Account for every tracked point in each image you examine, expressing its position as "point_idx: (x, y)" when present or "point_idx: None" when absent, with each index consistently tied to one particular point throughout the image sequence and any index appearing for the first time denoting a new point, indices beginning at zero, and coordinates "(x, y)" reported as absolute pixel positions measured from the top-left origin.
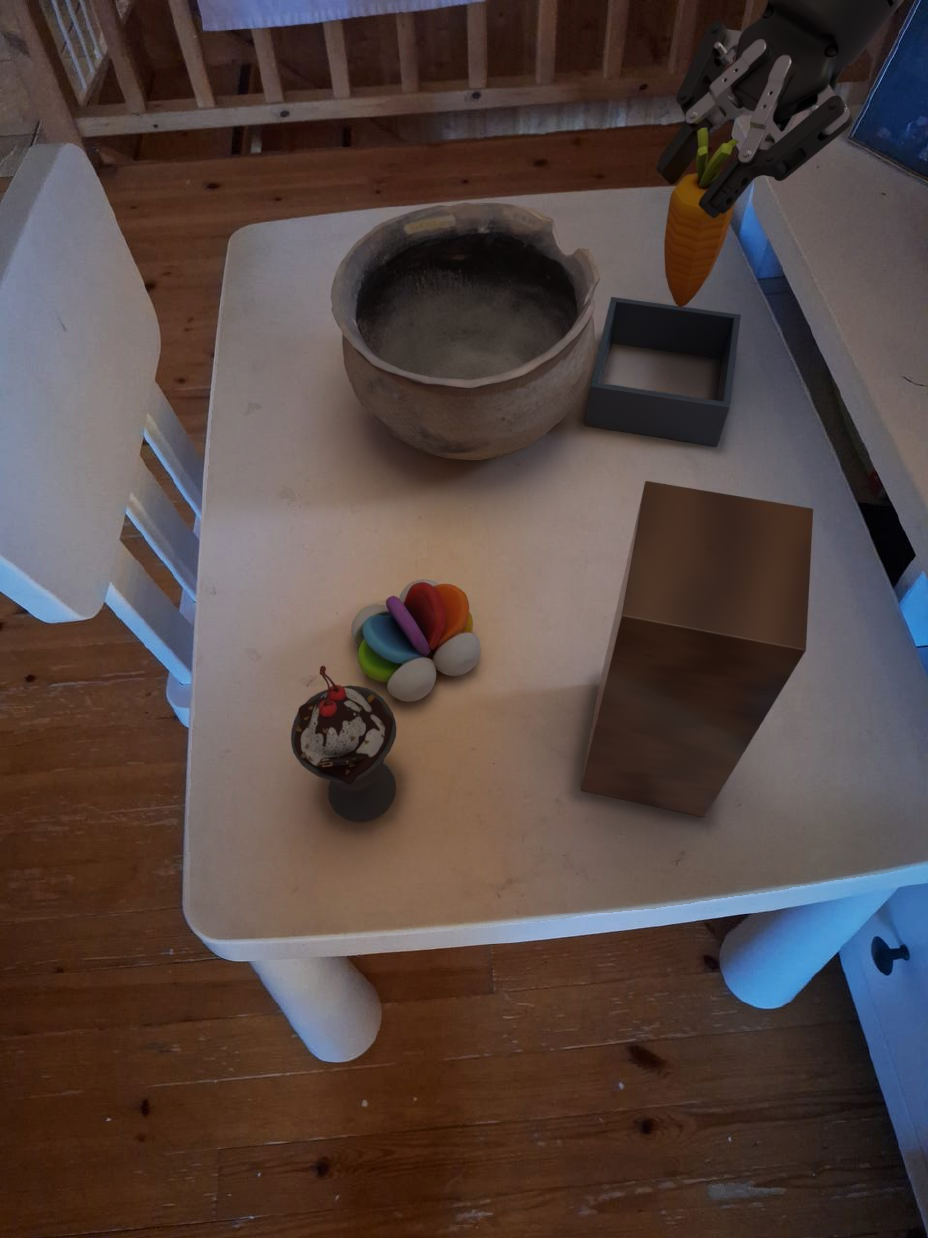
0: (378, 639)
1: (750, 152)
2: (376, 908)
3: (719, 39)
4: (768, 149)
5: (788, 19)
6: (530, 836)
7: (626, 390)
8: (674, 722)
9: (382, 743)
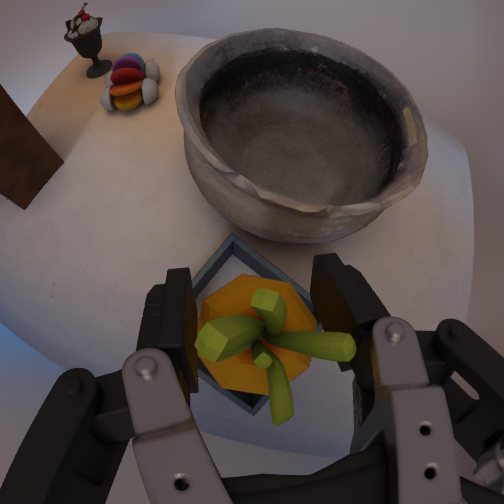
0: (124, 55)
1: (137, 375)
2: (66, 70)
3: None
4: (87, 399)
5: None
6: (43, 116)
7: (210, 259)
8: None
9: (68, 37)
